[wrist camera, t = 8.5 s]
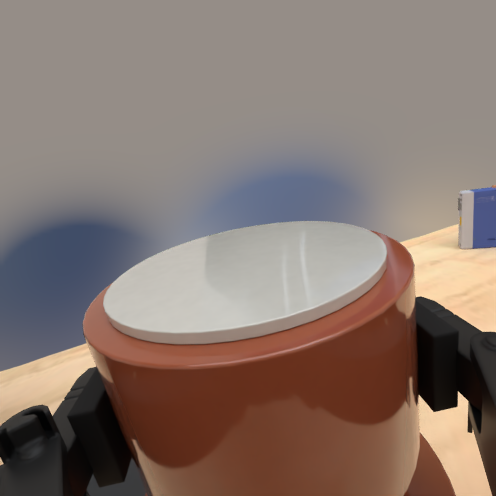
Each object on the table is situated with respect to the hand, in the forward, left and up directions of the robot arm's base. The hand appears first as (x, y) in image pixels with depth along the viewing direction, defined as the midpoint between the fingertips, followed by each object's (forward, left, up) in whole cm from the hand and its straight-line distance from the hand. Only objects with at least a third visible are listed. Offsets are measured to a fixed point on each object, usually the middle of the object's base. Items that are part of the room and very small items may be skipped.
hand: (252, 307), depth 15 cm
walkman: (+11, +64, -19) cm, 67 cm away
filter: (+3, -3, -6) cm, 8 cm away
